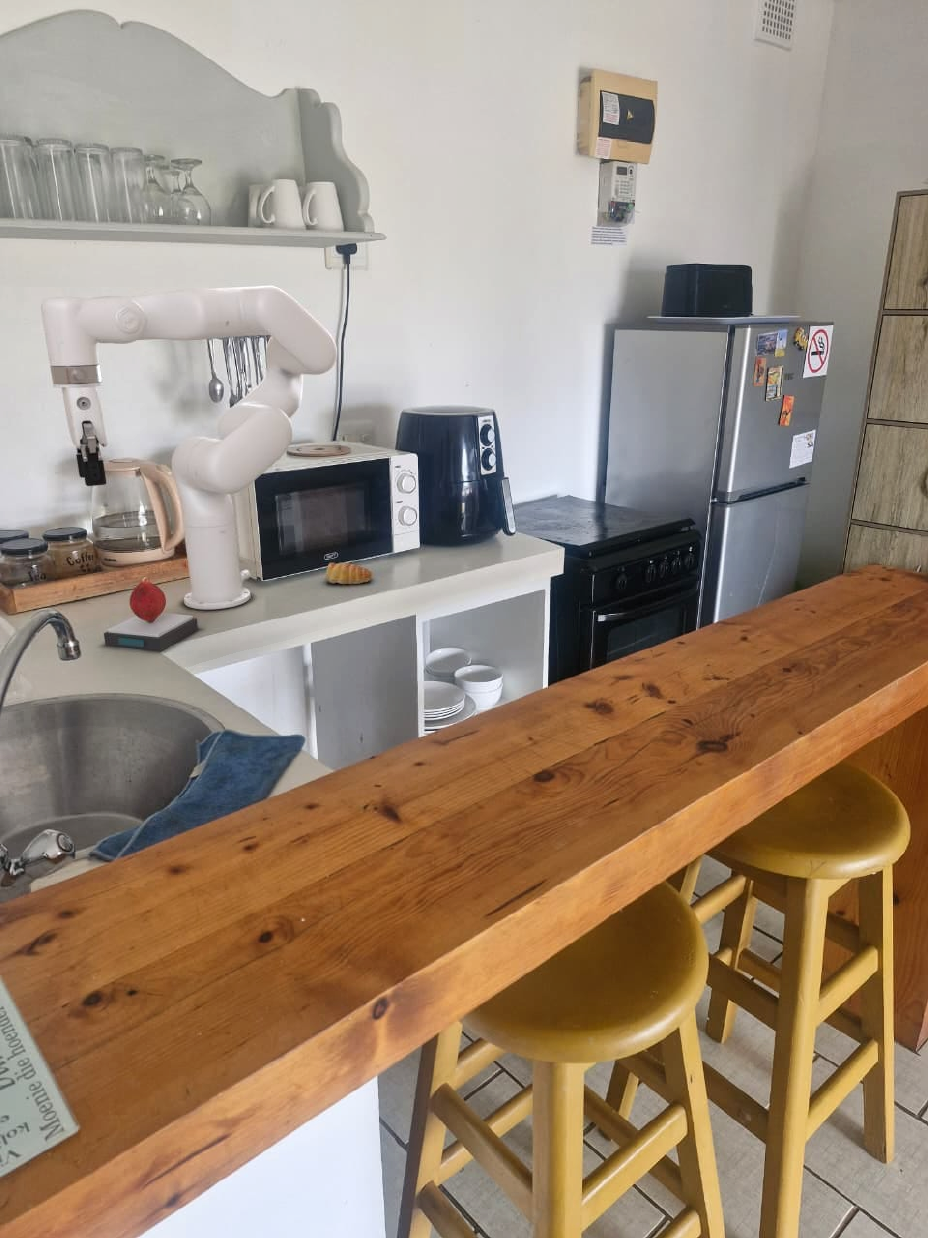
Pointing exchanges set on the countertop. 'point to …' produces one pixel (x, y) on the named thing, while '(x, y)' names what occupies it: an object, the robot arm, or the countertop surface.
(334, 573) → the pastry
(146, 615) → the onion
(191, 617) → the scale
